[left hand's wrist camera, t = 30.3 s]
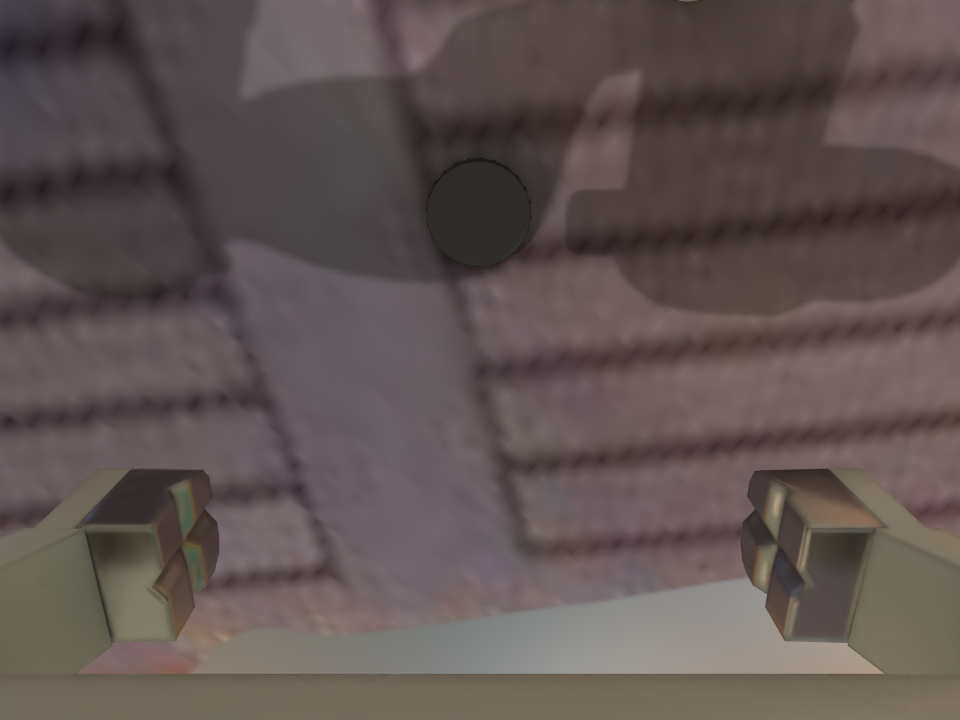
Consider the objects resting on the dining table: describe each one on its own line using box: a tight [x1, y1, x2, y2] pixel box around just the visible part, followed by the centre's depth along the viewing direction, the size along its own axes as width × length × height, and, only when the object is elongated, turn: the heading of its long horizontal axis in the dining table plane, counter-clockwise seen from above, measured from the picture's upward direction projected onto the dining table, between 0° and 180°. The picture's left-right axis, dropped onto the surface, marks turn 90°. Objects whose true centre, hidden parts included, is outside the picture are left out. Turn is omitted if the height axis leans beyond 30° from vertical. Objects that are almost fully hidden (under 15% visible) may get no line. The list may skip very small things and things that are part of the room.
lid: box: [426, 157, 531, 266], centre depth 37 cm, size 6×6×2 cm
